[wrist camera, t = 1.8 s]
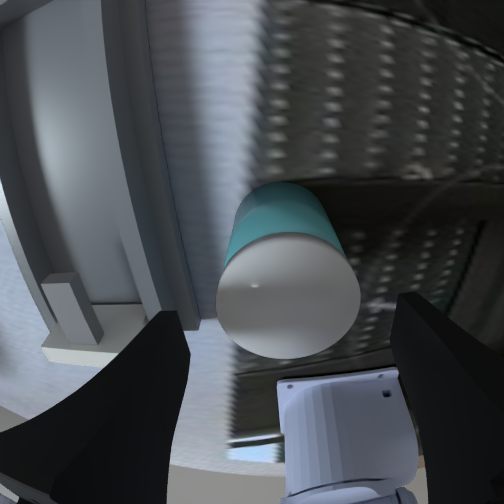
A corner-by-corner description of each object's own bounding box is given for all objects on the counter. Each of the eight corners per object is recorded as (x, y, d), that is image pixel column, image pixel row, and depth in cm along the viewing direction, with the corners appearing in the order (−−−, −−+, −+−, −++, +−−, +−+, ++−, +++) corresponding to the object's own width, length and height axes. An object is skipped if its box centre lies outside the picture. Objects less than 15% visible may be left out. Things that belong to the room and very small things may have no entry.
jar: (327, 177, 16) (365, 236, 10) (328, 264, 18) (354, 352, 12) (227, 185, 16) (203, 249, 10) (239, 271, 19) (227, 361, 13)
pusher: (132, 243, 17) (100, 287, 13) (156, 319, 19) (136, 369, 15) (48, 252, 17) (10, 290, 13) (76, 319, 20) (49, 361, 16)
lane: (141, -42, 10) (110, -69, 7) (201, 320, 21) (189, 365, 17) (-8, 30, 11) (-50, 31, 8) (65, 320, 21) (42, 355, 18)
